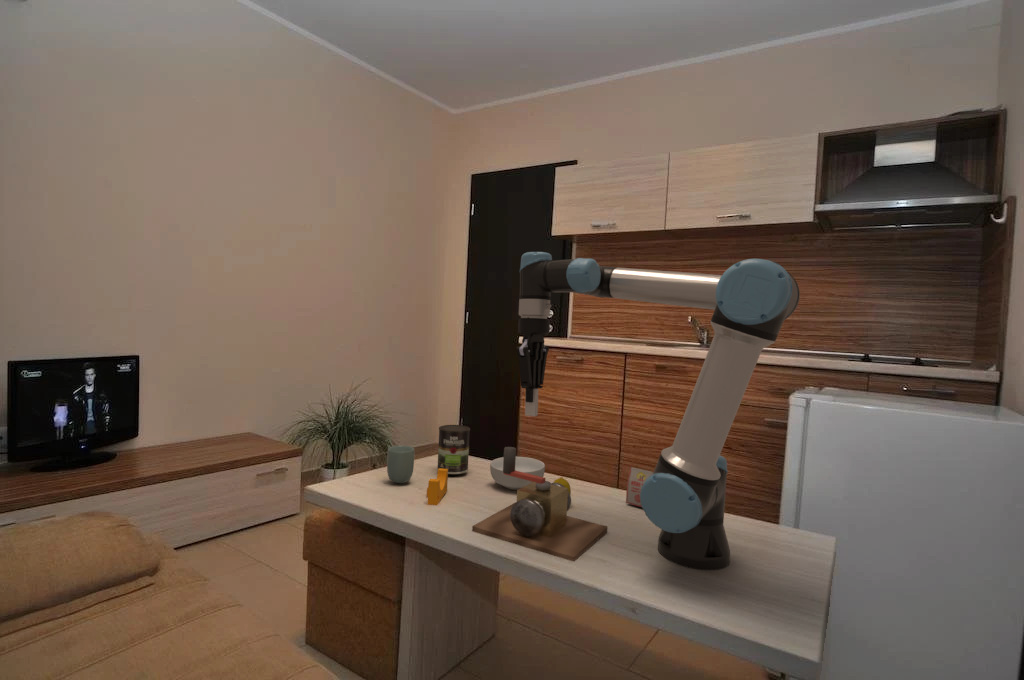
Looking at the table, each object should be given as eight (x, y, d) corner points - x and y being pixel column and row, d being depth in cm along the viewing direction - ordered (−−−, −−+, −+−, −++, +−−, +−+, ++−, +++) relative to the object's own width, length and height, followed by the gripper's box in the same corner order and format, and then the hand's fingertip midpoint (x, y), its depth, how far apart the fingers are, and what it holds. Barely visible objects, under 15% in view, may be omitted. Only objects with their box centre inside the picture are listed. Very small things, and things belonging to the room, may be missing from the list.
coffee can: (468, 474, 163) (470, 431, 162) (436, 474, 162) (437, 430, 162) (468, 465, 173) (470, 424, 173) (438, 465, 172) (439, 424, 172)
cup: (418, 480, 155) (419, 448, 154) (399, 487, 148) (401, 453, 148) (399, 475, 159) (401, 444, 158) (381, 481, 152) (382, 448, 152)
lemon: (567, 511, 136) (569, 481, 135) (547, 507, 137) (549, 478, 137) (571, 504, 141) (573, 476, 141) (552, 501, 143) (554, 473, 142)
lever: (553, 487, 121) (555, 455, 121) (545, 491, 118) (547, 458, 118) (507, 476, 128) (509, 445, 128) (499, 479, 125) (501, 448, 125)
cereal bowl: (500, 474, 165) (501, 453, 165) (549, 482, 160) (550, 460, 160) (480, 490, 149) (482, 466, 149) (535, 499, 144) (536, 474, 143)
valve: (572, 520, 125) (574, 484, 125) (542, 543, 112) (544, 502, 111) (539, 511, 130) (541, 477, 130) (507, 532, 116) (509, 493, 116)
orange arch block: (432, 489, 148) (433, 467, 148) (447, 490, 147) (448, 468, 147) (421, 504, 136) (422, 480, 136) (436, 505, 135) (438, 481, 135)
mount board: (607, 532, 123) (607, 526, 123) (573, 564, 106) (573, 557, 105) (515, 507, 136) (515, 502, 136) (472, 532, 119) (472, 526, 119)
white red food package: (631, 499, 147) (633, 465, 147) (653, 505, 143) (655, 470, 143) (625, 503, 144) (627, 468, 144) (648, 509, 140) (650, 473, 140)
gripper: (536, 316, 114) (532, 421, 114) (559, 318, 125) (556, 413, 126) (507, 316, 118) (504, 417, 118) (532, 318, 129) (529, 410, 129)
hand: (531, 415), depth 122 cm, fingers closed
